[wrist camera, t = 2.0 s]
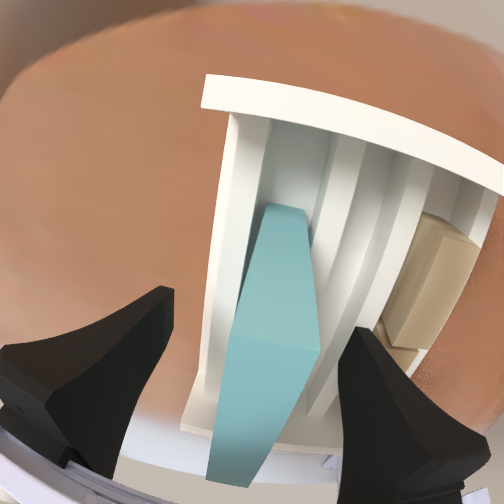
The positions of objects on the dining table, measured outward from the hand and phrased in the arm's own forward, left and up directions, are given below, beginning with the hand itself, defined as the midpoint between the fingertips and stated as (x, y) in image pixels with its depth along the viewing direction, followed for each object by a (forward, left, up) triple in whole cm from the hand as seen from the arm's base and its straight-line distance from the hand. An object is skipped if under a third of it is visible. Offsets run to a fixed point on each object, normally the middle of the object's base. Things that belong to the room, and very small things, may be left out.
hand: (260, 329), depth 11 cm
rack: (-3, 0, -4) cm, 5 cm away
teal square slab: (0, 0, -3) cm, 3 cm away
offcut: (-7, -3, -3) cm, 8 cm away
